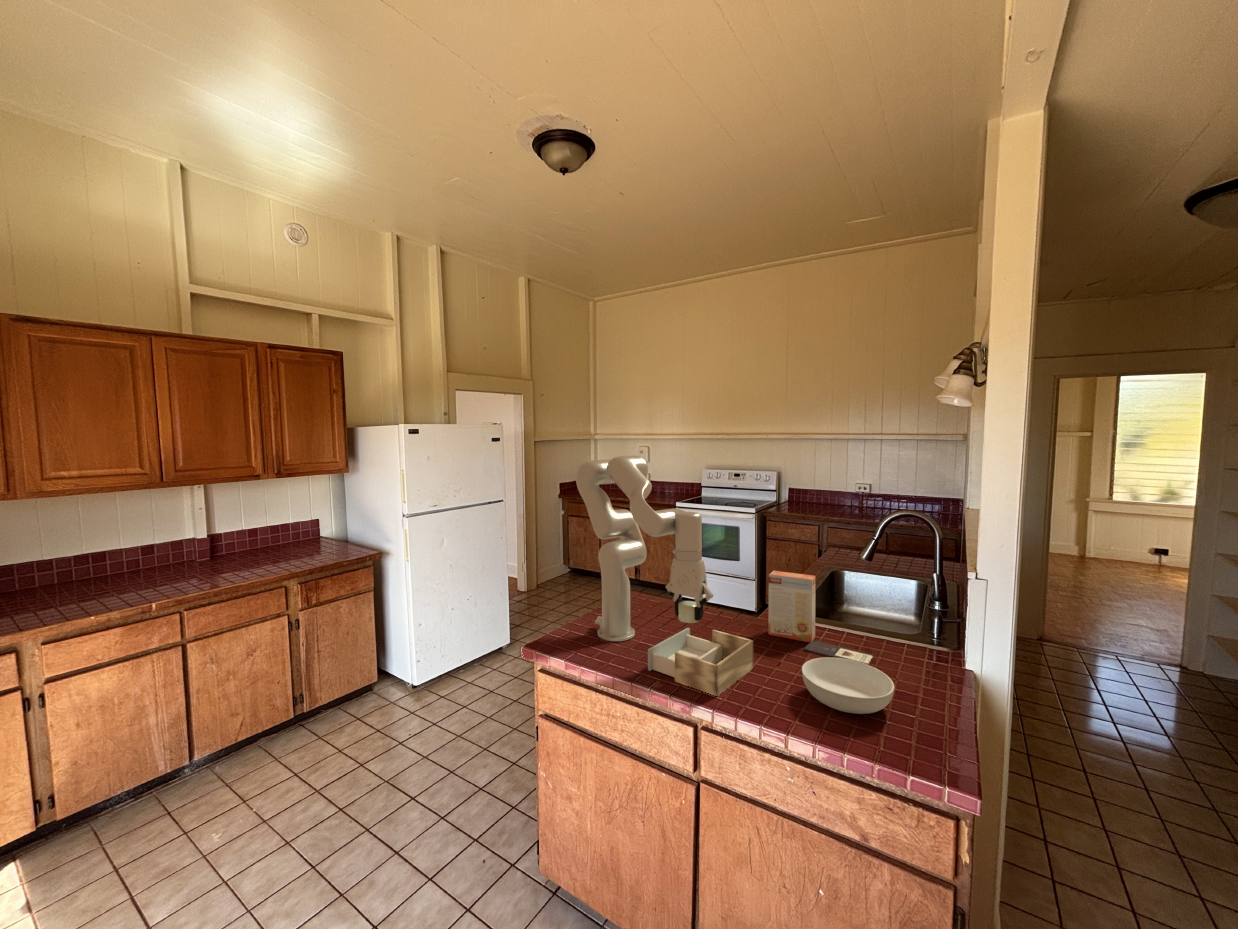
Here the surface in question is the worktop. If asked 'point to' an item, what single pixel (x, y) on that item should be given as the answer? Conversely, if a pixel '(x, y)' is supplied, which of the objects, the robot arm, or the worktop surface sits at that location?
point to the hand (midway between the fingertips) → (688, 616)
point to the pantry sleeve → (716, 665)
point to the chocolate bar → (838, 652)
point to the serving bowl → (847, 685)
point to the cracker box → (792, 606)
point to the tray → (682, 651)
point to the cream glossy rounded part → (687, 611)
